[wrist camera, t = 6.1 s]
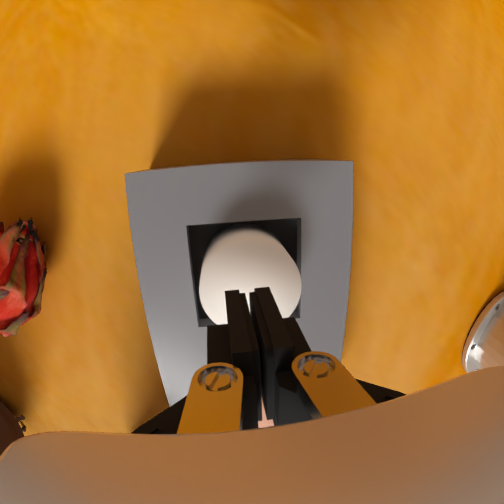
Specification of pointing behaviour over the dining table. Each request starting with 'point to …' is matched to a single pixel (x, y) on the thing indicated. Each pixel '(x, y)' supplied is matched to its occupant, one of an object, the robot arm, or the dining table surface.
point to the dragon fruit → (20, 275)
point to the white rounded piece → (247, 269)
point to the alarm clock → (9, 428)
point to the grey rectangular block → (228, 213)
